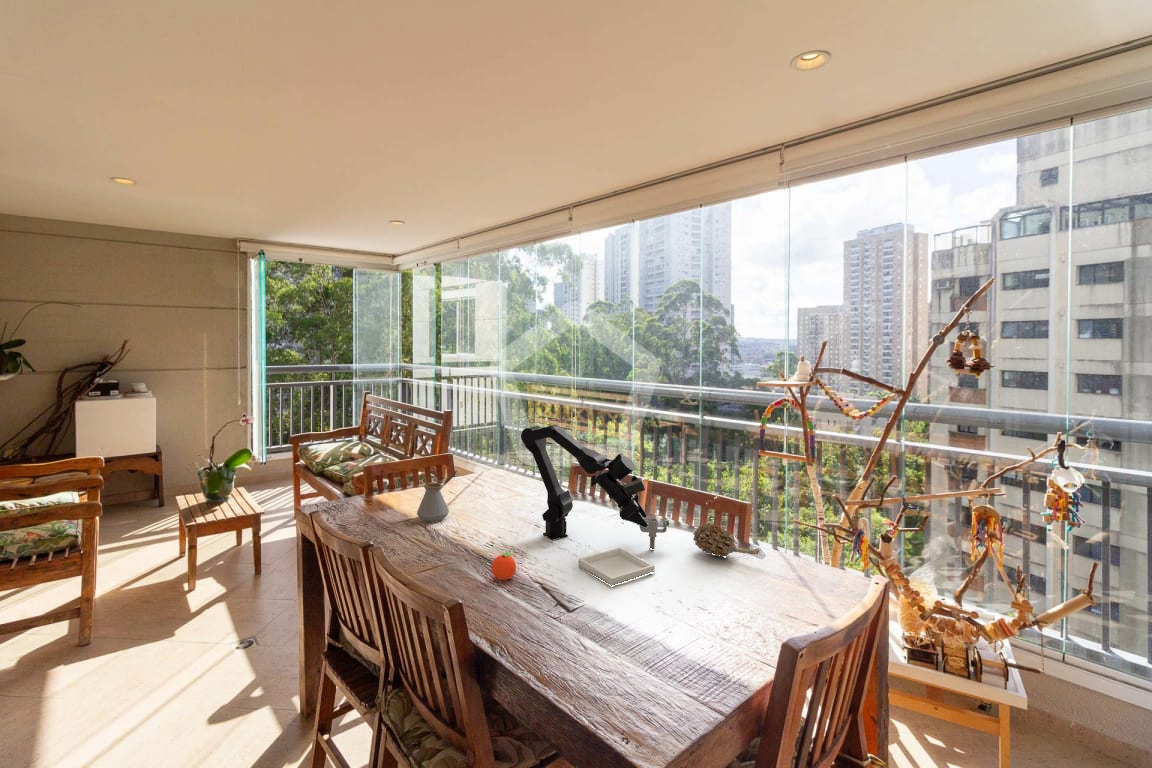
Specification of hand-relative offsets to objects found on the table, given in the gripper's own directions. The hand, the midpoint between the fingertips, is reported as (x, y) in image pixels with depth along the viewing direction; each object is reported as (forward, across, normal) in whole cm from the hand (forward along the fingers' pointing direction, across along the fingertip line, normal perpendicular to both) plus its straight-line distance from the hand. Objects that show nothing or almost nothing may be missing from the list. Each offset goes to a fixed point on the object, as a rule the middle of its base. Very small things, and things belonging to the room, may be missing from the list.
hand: (646, 521), depth 182 cm
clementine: (-22, -27, +35) cm, 50 cm away
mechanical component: (+8, 0, +5) cm, 10 cm away
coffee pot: (-48, +23, +60) cm, 80 cm away
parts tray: (0, -17, +13) cm, 22 cm away
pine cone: (+25, -4, -11) cm, 27 cm away
